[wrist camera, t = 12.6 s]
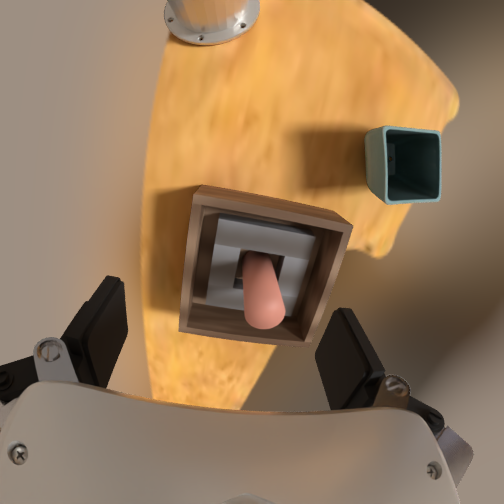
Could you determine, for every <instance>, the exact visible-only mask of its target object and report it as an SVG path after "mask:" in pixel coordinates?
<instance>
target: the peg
mask: <svg viewBox="0 0 504 504" xmlns="http://www.w3.org/2000/svg"><path fill="white" fill-rule="evenodd" d="M242 275H243V295H244V314H245V319H246V321H247V322H248V323H249V324H250V325H251V326H253V327H255V328H257V329H270V328H273V327H275V326H277V325H278V324H279V323H280V322H281V321H282V320H283V318H284V316H285V307H284V303H283V299H282V296H281V292H280V289H279V285H278V282H277V278H276V275H275V271H274V268H273V265H272V261H271V258H270V256H269V254H268V253H265V252H259V251H253V250H250V251H248V252H247V253H246V254H245V255H244V257H243V259H242Z"/></svg>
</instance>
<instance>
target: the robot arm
mask: <svg viewBox="0 0 504 504" xmlns="http://www.w3.org/2000/svg"><path fill="white" fill-rule="evenodd" d="M167 1H168V2H167V4H166V6H165V10H164V19H165V23H166V25H167V27H168V28H169V30H170V31H171V32H172V34H173V35H175V36H176V37H177V38H179V39H181V40H183V41H185V42H188V43H191V44H196V45H216V44H222V43H225V42H229V41H231V40H234V39H236V38H238V37H240V36H241V35H243V34H244V33H246V32H247V31H248V30H249V29H250V28H251V27H252V26H253V25H254V23H255V22H256V20H257V18H258V15H259V11H260V2H259V0H167ZM171 21H173V22H171ZM241 27H244V28H241ZM200 39H203V40H201V41H200ZM127 334H128V325H127V315H126V304H125V290H124V283H123V282H122V281H121V280H120V278H118V277H114V276H106V277H105V279H104V280H103V282H102V283H101V284H100V286H99V287H98V288H97V290H96V291H95V293H94V294H93V295H92V297H91V298H90V299H89V301H86V302H85V303H84V304H83V306H82V307H81V309H80V310H79V311H78V313H77V314H76V316H75V317H74V319H73V320H72V321H71V323H70V325H69V326H68V327H67V329H66V330H65V332H64V334H63V335H62V337H61V338H60V339H58V338H54V337H49V338H45V339H42V340H41V341H39V342H38V343H37V344H36V345H35V347H34V350H33V356H30V357H27V358H24V359H21V360H17V361H14V362H11V363H8V364H5V365H1V366H0V504H460V500H459V497H458V493H457V490H456V488H457V486H458V484H459V483H460V481H461V479H462V477H463V476H464V474H465V472H466V470H467V468H468V467H469V465H470V463H471V461H472V459H473V450H472V447H471V446H470V445H469V444H468V443H467V442H466V441H464V440H463V439H462V438H461V437H460V436H459V435H458V434H457V433H455V432H454V431H453V430H452V429H451V428H450V427H449V426H447V427H446V428H445V427H444V418H443V416H442V415H441V414H440V413H439V412H438V411H437V410H435V409H433V408H432V407H430V406H428V405H426V404H424V403H422V402H420V401H418V400H417V399H415V398H413V397H411V396H410V392H411V389H410V386H409V384H408V383H407V382H406V381H405V380H404V379H403V378H401V377H400V376H397V375H387V376H385V374H384V372H385V369H384V367H383V365H382V363H381V361H380V360H379V358H378V356H377V354H376V352H375V350H374V348H373V347H372V345H371V344H370V341H369V340H368V337H367V336H366V334H365V332H364V330H363V329H362V327H361V325H360V323H359V322H358V320H357V318H356V316H355V314H354V313H353V311H352V309H350V308H338V309H337V310H335V311H334V312H333V314H332V316H331V319H330V321H329V323H328V326H327V328H326V330H325V333H324V335H323V337H322V339H321V341H320V343H319V346H318V348H317V350H316V352H315V360H316V363H317V367H318V370H319V372H320V376H321V379H322V383H323V386H324V389H325V392H326V396H327V399H328V402H329V406H330V409H331V410H328V411H308V412H307V411H306V412H265V411H263V412H262V411H243V410H229V409H218V408H208V407H200V406H192V405H185V404H178V403H172V402H166V401H160V400H155V399H149V398H145V397H140V396H135V395H130V394H126V393H122V392H118V391H114V390H110V389H106V387H107V385H108V382H109V379H110V377H111V374H112V371H113V369H114V366H115V364H116V361H117V359H118V356H119V354H120V352H121V349H122V347H123V344H124V342H125V340H126V337H127Z"/></svg>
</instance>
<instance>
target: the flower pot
mask: <svg viewBox="0 0 504 504" xmlns="http://www.w3.org/2000/svg"><path fill="white" fill-rule="evenodd" d="M364 143H365V159H366V180H367V185H368V187H369V189H370V190H371V192H372V193H373V194H375V195H376V196H377V197H378V198H379V199H381V200H382V201H383V202H384V203H386V204H387V205H393V204H406V203H422V202H438V201H440V197H441V154H442V152H441V135H440V132H439V131H436V130H425V129H415V128H406V127H396V126H383V127H379V128H376V129H373V130H370V131H369V132H367V134H366V135H365V139H364ZM390 157H391V158H392V160H391V161H390V160H389V158H390Z"/></svg>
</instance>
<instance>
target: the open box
mask: <svg viewBox="0 0 504 504" xmlns="http://www.w3.org/2000/svg"><path fill="white" fill-rule="evenodd" d="M352 229H353V225H352V224H350V223H349V222H348V221H346V220H345V219H344V218H342V217H341V216H340V215H338V214H337V213H336V212H334V211H332V210H327V209H323V208H319V207H315V206H310V205H306V204H301V203H297V202H292V201H287V200H283V199H278V198H273V197H268V196H263V195H258V194H253V193H247V192H242V191H236V190H231V189H225V188H219V187H213V186H207V185H201V186H200V187H199V188H198V190H197V191H196V192H195V193H194V195H193V201H192V208H191V215H190V222H189V230H188V237H187V245H186V254H185V263H184V272H183V282H182V293H181V304H180V317H179V332H184V333H190V334H196V335H202V336H208V337H215V338H222V339H229V340H236V341H244V342H252V343H261V344H271V345H282V346H293V347H307V348H308V347H309V346H310V344H311V341H312V339H313V337H314V334H315V332H316V329H317V327H318V324H319V322H320V320H321V317H322V314H323V312H324V309H325V307H326V304H327V302H328V299H329V296H330V294H331V291H332V288H333V285H334V283H335V280H336V277H337V274H338V271H339V269H340V266H341V263H342V259H343V257H344V254H345V251H346V248H347V245H348V241H349V238H350V235H351V232H352ZM250 250H253V251H259V252H265V253H268V254H269V256H270V258H271V261H272V265H273V268H274V271H275V275H276V278H277V282H278V285H279V289H280V292H281V296H282V299H283V303H284V307H285V316H284V318H283V320H282V321H281V322H280V323H279V324H278V325H277V326H275V327H273V328H270V329H257V328H255V327H253V326H251V325H250V324H249V323H248V322H247V321H246V319H245V314H244V295H243V275H242V259H243V257H244V255H245V254H246V253H247V252H248V251H250Z"/></svg>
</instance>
